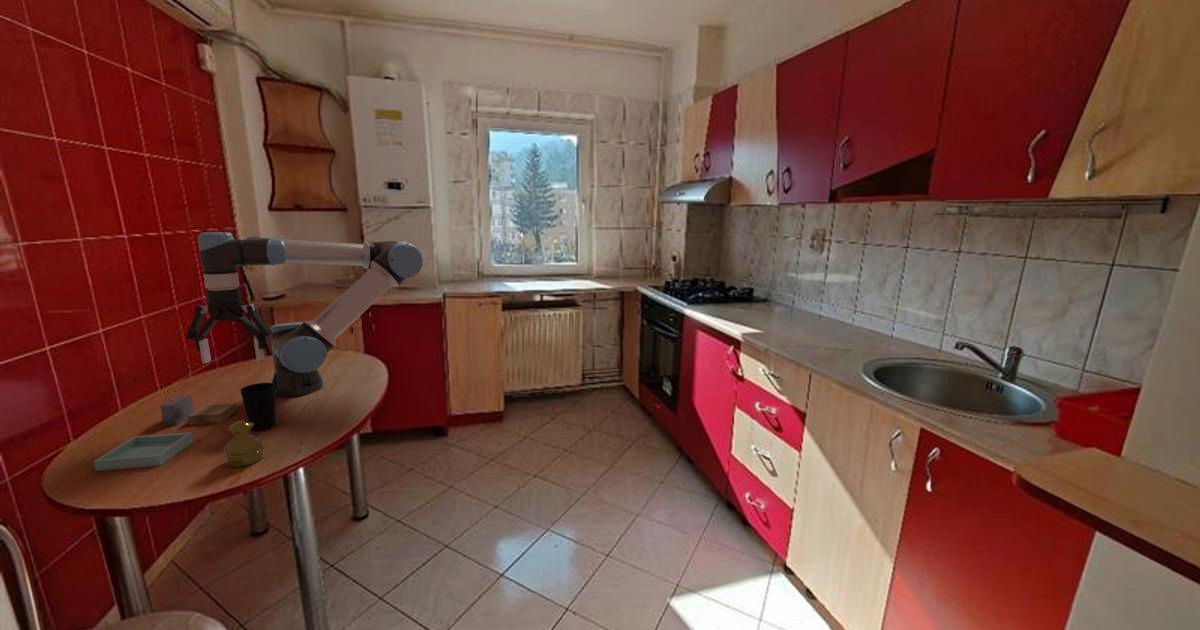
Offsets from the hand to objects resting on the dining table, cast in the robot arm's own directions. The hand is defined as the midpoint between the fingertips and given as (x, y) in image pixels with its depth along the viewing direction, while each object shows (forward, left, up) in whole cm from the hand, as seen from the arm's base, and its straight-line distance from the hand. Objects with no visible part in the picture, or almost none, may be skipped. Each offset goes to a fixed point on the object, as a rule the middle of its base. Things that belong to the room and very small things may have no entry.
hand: (234, 361), depth 134 cm
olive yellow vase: (-14, +29, -17) cm, 37 cm away
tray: (+10, +22, -17) cm, 30 cm away
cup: (-10, +10, -17) cm, 22 cm away
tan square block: (+7, 0, -17) cm, 19 cm away
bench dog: (+16, 0, -17) cm, 23 cm away
